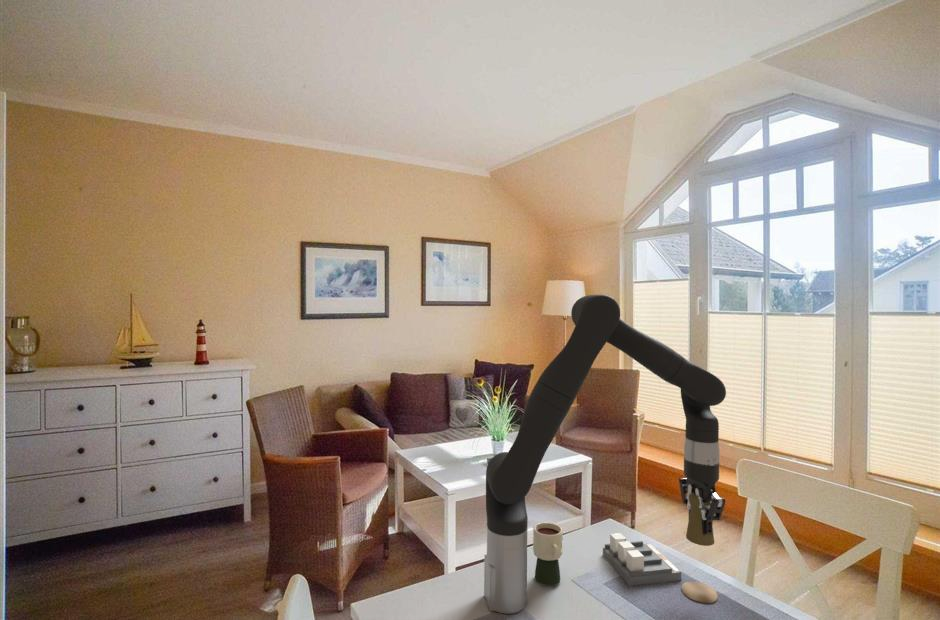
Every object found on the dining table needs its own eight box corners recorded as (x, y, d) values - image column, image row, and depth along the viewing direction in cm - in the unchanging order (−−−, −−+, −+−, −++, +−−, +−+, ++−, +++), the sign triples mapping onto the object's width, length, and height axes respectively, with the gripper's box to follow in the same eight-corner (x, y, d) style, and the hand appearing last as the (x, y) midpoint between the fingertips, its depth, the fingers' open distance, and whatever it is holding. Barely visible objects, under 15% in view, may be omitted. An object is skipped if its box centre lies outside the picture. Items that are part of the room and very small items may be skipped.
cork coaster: (695, 604, 107) (695, 602, 107) (675, 585, 114) (675, 583, 114) (725, 601, 108) (725, 599, 108) (703, 582, 116) (703, 580, 116)
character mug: (570, 592, 111) (570, 538, 111) (541, 596, 110) (542, 540, 109) (552, 567, 122) (553, 517, 122) (526, 570, 120) (526, 519, 120)
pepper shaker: (718, 547, 108) (718, 499, 108) (689, 544, 109) (690, 496, 109) (710, 534, 114) (710, 489, 113) (683, 531, 115) (684, 487, 115)
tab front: (632, 573, 115) (632, 557, 115) (626, 566, 118) (626, 550, 118) (643, 572, 116) (644, 556, 116) (637, 565, 119) (637, 549, 119)
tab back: (615, 554, 124) (615, 539, 124) (609, 548, 127) (610, 533, 127) (625, 553, 125) (626, 538, 125) (620, 547, 128) (620, 533, 128)
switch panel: (629, 585, 114) (629, 573, 114) (602, 555, 128) (602, 544, 128) (681, 580, 117) (681, 568, 117) (649, 550, 130) (650, 540, 130)
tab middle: (623, 563, 120) (623, 548, 120) (617, 557, 123) (618, 542, 123) (634, 562, 120) (634, 547, 120) (628, 556, 123) (628, 541, 123)
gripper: (669, 449, 117) (667, 517, 117) (707, 469, 103) (706, 546, 104) (696, 448, 119) (694, 515, 119) (737, 467, 105) (736, 544, 105)
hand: (700, 529), depth 111 cm, fingers closed on pepper shaker, 4 cm apart
